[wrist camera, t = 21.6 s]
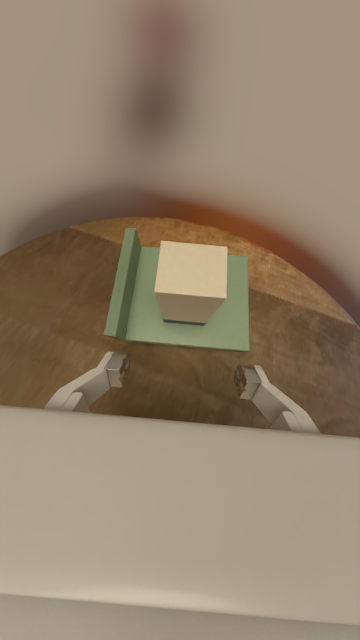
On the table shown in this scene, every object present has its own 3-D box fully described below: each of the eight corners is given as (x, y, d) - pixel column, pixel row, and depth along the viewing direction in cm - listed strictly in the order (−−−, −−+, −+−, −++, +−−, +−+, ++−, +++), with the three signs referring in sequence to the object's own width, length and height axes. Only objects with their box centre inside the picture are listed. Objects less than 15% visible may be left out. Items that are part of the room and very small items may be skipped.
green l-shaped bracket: (239, 268, 24) (258, 239, 18) (239, 351, 21) (263, 349, 15) (137, 258, 24) (125, 227, 18) (123, 341, 21) (103, 335, 15)
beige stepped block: (204, 326, 19) (228, 298, 10) (163, 322, 19) (152, 291, 10) (207, 267, 21) (229, 202, 12) (170, 264, 21) (165, 197, 12)
